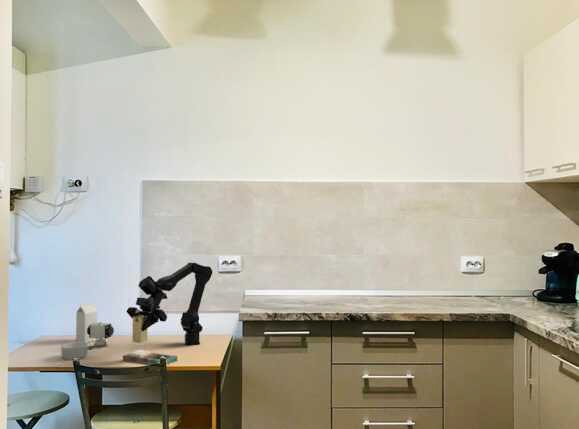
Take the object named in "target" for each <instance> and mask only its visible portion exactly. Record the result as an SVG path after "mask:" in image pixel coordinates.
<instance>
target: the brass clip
mask: <svg viewBox="0 0 579 429" xmlns="http://www.w3.org/2000/svg"><path fill="white" fill-rule="evenodd" d="M146 320H147V316H142V315H138V316H134V317H133V319H132V343H138V344H143V343H145V342H148V328H147V329H146V330H144V331H142V328H143V325H144V324H145V322H146Z"/></svg>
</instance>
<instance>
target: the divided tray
mask: <svg viewBox="0 0 579 429" xmlns="http://www.w3.org/2000/svg"><path fill="white" fill-rule="evenodd" d="M161 356H164V357H166V360H167V364H168V365H170V364H169V363H171V362H173V363H175V362H177V361H178V356H177V355H171V354H165V353H164V354H162V353H156V352H152V351H151V350H143V349H138V350H135V351H132V352H129V353H127V354H125V355H122V361H124V362H132V363H139V364H145V365H146V364H147V365H152V364H157V363H159V362H160V357H161ZM174 361H175V362H174ZM171 364H172V363H171Z"/></svg>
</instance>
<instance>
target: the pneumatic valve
mask: <svg viewBox="0 0 579 429" xmlns="http://www.w3.org/2000/svg"><path fill="white" fill-rule="evenodd" d="M114 332H115V328H114V326H112V323H106V322H105V323H104V322H103V323H102V321H99V323H98V322H97V323H94V324H91V325H89V327H88V328H87V334H88V335H89V338H96V339H97V340H96V341H93V345H105V344H107V341H106V339H108V338H112V336H113V335H114ZM99 348H100V349H102V348H103V347H99Z"/></svg>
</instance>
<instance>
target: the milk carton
mask: <svg viewBox="0 0 579 429" xmlns="http://www.w3.org/2000/svg"><path fill="white" fill-rule="evenodd" d="M75 318H76V321H75V322H76V324H75V325H76V326H75V329H76V331H75V333H76V335H75V342H87V343H91V342H95V341H96V340H98V339H96V338H89V335H88V334H87V328H88V327H89V325H91V324H94V323H98V310H97V309H96V307H95V305H94V302H89V303H82V304H80V307H79V308H78V309H77V310H76V316H75Z"/></svg>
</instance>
